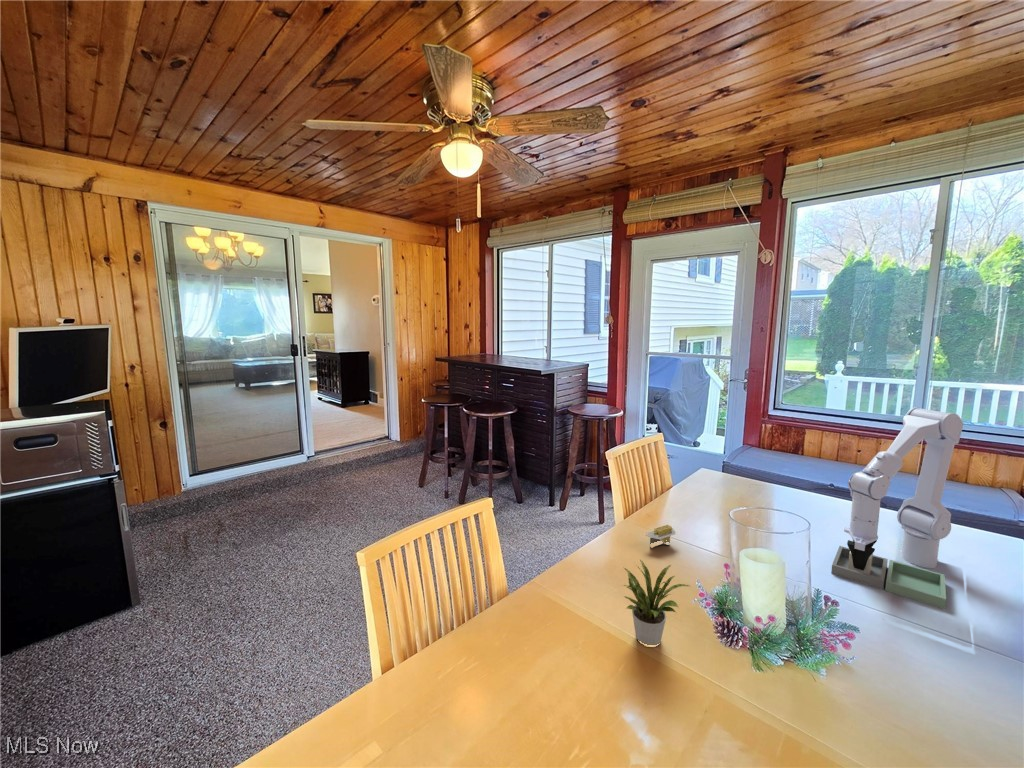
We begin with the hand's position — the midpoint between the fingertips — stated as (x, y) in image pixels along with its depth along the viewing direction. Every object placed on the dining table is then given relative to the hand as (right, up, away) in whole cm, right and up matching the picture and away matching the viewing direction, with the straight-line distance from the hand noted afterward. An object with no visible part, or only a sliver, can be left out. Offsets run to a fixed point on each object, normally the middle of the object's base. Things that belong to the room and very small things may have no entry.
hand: (860, 564), depth 116 cm
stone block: (0, -1, 0) cm, 1 cm away
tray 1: (0, -2, 0) cm, 2 cm away
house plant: (-64, -7, -23) cm, 68 cm away
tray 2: (+8, -3, -7) cm, 11 cm away
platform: (-48, -2, +16) cm, 51 cm away
